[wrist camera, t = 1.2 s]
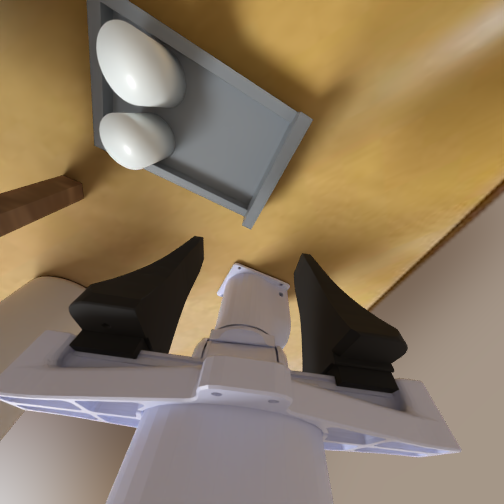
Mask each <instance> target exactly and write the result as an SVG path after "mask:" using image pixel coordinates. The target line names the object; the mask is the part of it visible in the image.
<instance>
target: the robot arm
mask: <svg viewBox="0 0 504 504" xmlns="http://www.w3.org/2000/svg"><path fill="white" fill-rule="evenodd" d="M203 260H204V247H203V237H197V236H194V237H193V238H191V239H190V240H189V241H187V242H186V243H185V244H183V245H182V246H180V247H179V248H178V249H176V250H175V251H173V252H172V253H170V254H168V255H167V256H165V257H163V258H162V259H160V260H158V261H156V262H154V263H152V264H150V265H148V266H146V267H143V268H141V269H139V270H136V271H134V272H131V273H128V274H126V275H123V276H120V277H117V278H113V279H110V280H106V281H103V282H99V283H95V284H91V285H90V286H89V287H88V288H87V289H86V290H85V291H84V292H83V293H82V294H81V295H79V296H78V297H77V298H76V299H75V300H74V301H73V302H72V303H71V304H70V306H69V313H70V315H71V316H72V318H73V319H74V320H75V321H76V323H77V324H78V325H79V326H80V328H81V329H82V331H81V332H80V333H79V334H78V335H77V336H76V335H74V334H72V333H68V332H61V331H53V330H45V331H44V332H43V333H42V334H41V335H40V336H39V337H38V338H37V339H36V340H35V341H34V342H33V343H32V344H31V345H30V346H29V347H28V348H27V349H26V350H25V351H24V352H23V353H22V354H21V355H20V356H19V357H18V358H16V359H15V360H14V361H13V362H12V363H11V364H10V365H9V366H8V367H7V368H6V369H5V370H4V371H3V372H2V373H1V374H0V400H1V401H3V402H6V403H8V404H11V405H13V406H16V407H18V408H21V409H23V410H29V411H37V412H45V413H52V414H59V415H65V416H71V417H77V418H83V419H90V420H95V421H101V422H106V423H112V424H118V425H124V426H129V427H135V428H137V429H136V431H135V434H134V436H133V439H132V441H131V443H130V446H129V449H128V451H127V453H126V455H125V458H124V460H123V463H122V465H121V468H120V470H119V472H118V475H117V477H116V479H115V482H114V484H113V487H112V489H111V491H110V494H109V496H108V499H107V501H106V504H333V497H332V492H331V486H330V480H329V474H328V468H327V462H326V456H325V450H336V451H352V452H366V453H367V452H368V453H380V454H391V455H403V456H411V457H426V456H434V455H441V454H449V453H457V452H461V448H460V446H459V444H458V442H457V441H456V439H455V437H454V436H453V434H452V432H451V431H450V429H449V427H448V425H447V424H446V422H445V420H444V418H443V417H442V415H441V413H440V411H439V410H438V408H437V406H436V405H435V403H434V401H433V399H432V398H431V396H430V394H429V392H428V391H427V389H426V387H425V386H424V384H423V382H421V381H418V380H411V379H404V378H398V379H394V377H393V375H392V373H391V372H394V368H393V366H392V364H391V363H393V362H394V361H396V360H397V359H399V358H400V357H401V356H403V355H404V354H405V353H406V351H407V349H408V347H407V344H406V342H405V341H404V339H403V338H402V336H401V334H400V333H399V331H398V330H397V329H396V328H394V327H392V326H391V325H389V324H387V323H386V322H384V321H382V320H381V319H379V318H378V317H376V316H375V315H373V314H372V313H370V312H369V311H367V310H366V309H365V308H363V307H362V306H360V305H359V304H358V303H357V302H355V301H354V300H353V299H352V298H350V297H349V296H348V295H347V294H346V293H345V292H344V291H342V290H341V289H340V288H339V287H338V286H337V285H336V284H335V283H334V282H333V281H332V280H331V278H330V277H329V276H328V275H327V274H326V273H325V272H324V271H323V269H322V268H321V267H320V266H319V264H318V263H317V262H316V261H315V260H314V258H313V257H312V256H311V255H310V254H303V253H302V255H301V257H300V260H299V262H298V264H297V267H296V269H295V272H294V286H295V291H296V297H297V302H298V307H299V313H300V321H301V334H302V358H303V372H299V371H292V370H290V369H289V368H288V363H287V358H286V354H285V353H284V351H283V350H282V349H283V348H284V347H285V345H286V343H287V341H288V339H289V335H290V329H291V320H290V311H289V302H288V294H287V290H288V289H289V288H290V285H289V284H288V283H285V282H283V281H281V280H278V279H276V278H273V277H271V276H268V275H266V274H263V273H261V272H259V271H256V270H254V269H251V268H249V267H246V266H244V265H241V264H239V263H234V264H233V266H232V268H231V269H230V271H229V273H228V275H227V276H226V278H225V280H224V282H223V283H222V285H221V287H220V289H219V290H218V292H217V295H218V296H221V297H223V298H222V302H221V306H220V310H219V314H218V319H217V323H216V327H215V329H212V330H211V334H210V338H203V339H202V340H201V341H200V342H199V343H198V344H197V346H196V347H195V349H194V352H193V355H192V357H188V356H181V355H173V354H168V353H169V350H170V347H171V343H172V340H173V337H174V334H175V331H176V327H177V324H178V321H179V318H180V316H181V313H182V310H183V307H184V304H185V301H186V299H187V297H188V295H189V293H190V291H191V288H192V286H193V284H194V282H195V280H196V278H197V276H198V274H199V272H200V269H201V266H202V263H203ZM239 267H241V268H239Z"/></svg>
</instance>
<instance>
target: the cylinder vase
mask: <svg viewBox="0 0 504 504" xmlns="http://www.w3.org/2000/svg"><path fill="white" fill-rule="evenodd" d="M85 290H86V288H84V287H83V286H81V285H79V284H77V283H74V282H72V281H69V280H66V279H62V278H58V277H48V276H46V277H38V278H35V279H33V280H31V281H29V282H28V283H26V284H25V285H24V286H22V287H21V288H19V289H18V290H17V291H15V292H14V293H12V294H11V295H9V296H8V297H7V298H5V299H4V300H2V301H1V302H0V374H1V373H2V372H3V371H4V370H5V369H6V368H7V367H8V366H9V365H10V364H11V363H12V362H13V361H14V360H15V359H16V358H18V357H19V356H20V355H21V354H22V353H23V352H24V351H25V350H26V349H27V348H28V347H29V346H30V345H31V344H32V343H33V342H34V341H35V340H36V339H37V338H38V337H39V336H40V335H41V334H42V333H43V332H44V331H45V330H53V331H61V332H68V333H72V334H74V335H76V336H77V335H78V334H79V333H80V332H81V331H82V329H81V328H80V326H79V325H78V324H77V323H76V321H75V320H74V319H73V318H72V316H71V315H70V313H69V306H70V304H71V303H72V302H73V301H74V300H75V299H76V298H77V297H78V296H79V295H81V294H82V293H83V292H84V291H85ZM24 411H25V410H23V409H21V408H18V407H16V406H13V405H11V404H8V403H6V402H3V401H1V400H0V441H1V440H2V438H3V437H4V436H5V435H6V433H7V432H8V431H9V430H10V429H11V427H12V426H13V425H14V423H16V421H17V420H18V419H19V417H20V416H21V415H22V414H23V413H24Z"/></svg>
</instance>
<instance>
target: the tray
mask: <svg viewBox="0 0 504 504" xmlns="http://www.w3.org/2000/svg"><path fill="white" fill-rule="evenodd" d="M87 16H88V35H89V54H90V73H91V91H92V110H93V129H94V146H97V147H99V148H101V149H103V150H105V151H107V152H108V154H109V155H110V156H111V157H112V158H113V159H114V160H115V161H116V162H117V163H119V164H120V165H122V166H124V167H126V168H128V169H132V170H139V169H142V168H143V169H145V170H147V171H149V172H151V173H154V174H156V175H158V176H160V177H162V178H164V179H166V180H168V181H170V182H173V183H175V184H177V185H179V186H181V187H183V188H185V189H187V190H189V191H192V192H194V193H196V194H198V195H200V196H202V197H204V198H206V199H208V200H211V201H213V202H215V203H217V204H219V205H221V206H223V207H225V208H228V209H230V210H232V211H234V212H236V213H238V214H240V215H242V216H244V219H243V223H242V225H243V226H245V227H247V228H249V229H251V228H252V227H253V225H254V223H255V221H256V220H257V218H258V216H259V214H260V213H261V211H262V209H263V207H264V206H265V204H266V202H267V200H268V198H269V197H270V195H271V193H272V191H273V190H274V188H275V186H276V184H277V183H278V181H279V179H280V177H281V176H282V174H283V172H284V170H285V168H286V167H287V165H288V163H289V161H290V160H291V158H292V156H293V154H294V153H295V151H296V149H297V147H298V145H299V144H300V142H301V140H302V138H303V137H304V135H305V133H306V131H307V130H308V128H309V126H310V124H311V123H312V121H313V119H311V118H310V117H308V116H307V115H305V114H304V113H302V112H297V111H295V110H294V109H292V108H290V107H289V106H287V105H286V104H284V103H283V102H281V101H280V100H278V99H277V98H275V97H274V96H272V95H271V94H269V93H268V92H266V91H265V90H263V89H262V88H260V87H259V86H257V85H256V84H254V83H253V82H251V81H250V80H248V79H246V78H245V77H243V76H242V75H240V74H239V73H237V72H236V71H234V70H233V69H231V68H230V67H228V66H227V65H225V64H224V63H222V62H221V61H219V60H218V59H216V58H215V57H213V56H212V55H210V54H209V53H207V52H206V51H204V50H203V49H201V48H199V47H198V46H196V45H195V44H193V43H192V42H190V41H189V40H187V39H186V38H184V37H183V36H181V35H180V34H178V33H177V32H175V31H174V30H172V29H171V28H169V27H168V26H166V25H165V24H163V23H162V22H160V21H159V20H157V19H155V18H154V17H152V16H151V15H149V14H148V13H146V12H145V11H143V10H142V9H140V8H139V7H137V6H136V5H134V4H133V3H131V2H130V1H128V0H87Z"/></svg>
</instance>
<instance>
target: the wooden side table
mask: <svg viewBox="0 0 504 504" xmlns="http://www.w3.org/2000/svg"><path fill="white" fill-rule="evenodd" d="M82 199H84V198H83V188H82V183H79V182H77V181H75V180H72V179H70V178H68V177H65V176H63V175H62V176H58V177H55V178H51V179H48V180H45V181H41V182H38V183H35V184H31V185H28V186H24V187H21V188H18V189H14V190H11V191H8V192H4V193H1V194H0V237H1V236H3V235H5V234H8V233H10V232H12V231H14V230H16V229H18V228H21V227H23V226H25V225H27V224H29V223H32V222H34V221H36V220H38V219H40V218H42V217H45V216H47V215H49V214H51V213H53V212H56V211H58V210H60V209H62V208H64V207H67V206H69V205H71V204H73V203H75V202H77V201H80V200H82Z"/></svg>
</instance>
